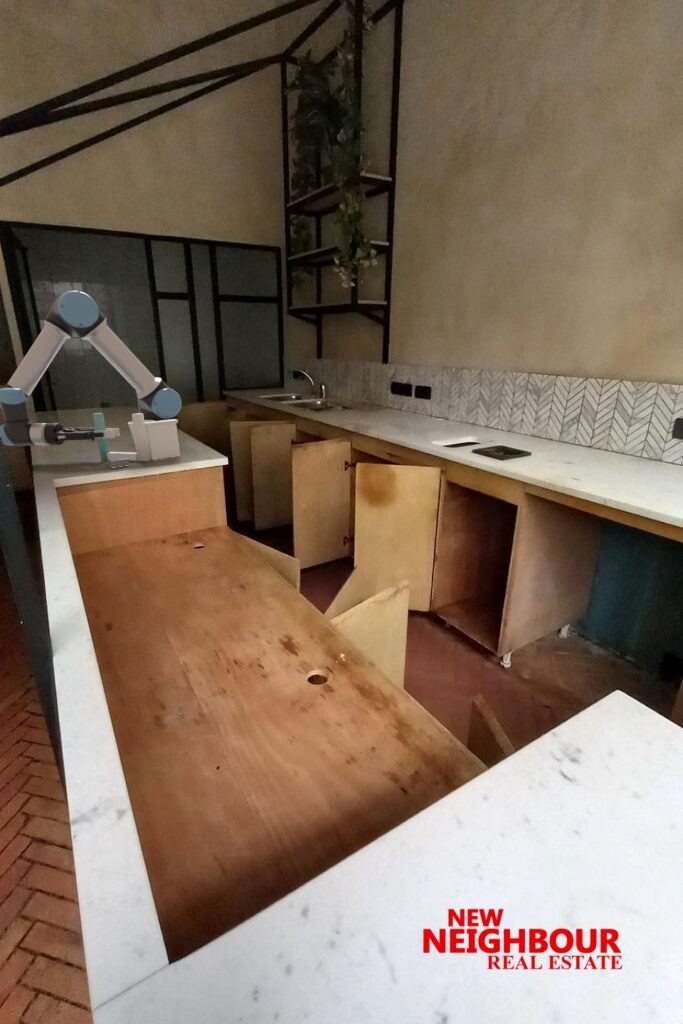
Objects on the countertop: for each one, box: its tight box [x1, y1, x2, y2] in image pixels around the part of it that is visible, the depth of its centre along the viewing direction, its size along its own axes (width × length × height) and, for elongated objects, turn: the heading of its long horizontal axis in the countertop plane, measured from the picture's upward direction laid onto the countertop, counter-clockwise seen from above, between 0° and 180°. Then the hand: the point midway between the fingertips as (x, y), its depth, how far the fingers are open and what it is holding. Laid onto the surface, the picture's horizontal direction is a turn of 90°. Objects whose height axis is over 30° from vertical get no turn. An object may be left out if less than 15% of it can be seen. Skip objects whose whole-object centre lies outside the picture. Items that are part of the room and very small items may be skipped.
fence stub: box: [145, 418, 181, 460], centre depth 175 cm, size 11×3×13 cm, turn 130°
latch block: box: [108, 458, 131, 469], centre depth 165 cm, size 6×2×2 cm, turn 130°
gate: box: [92, 412, 151, 462], centre depth 171 cm, size 18×4×16 cm, turn 79°
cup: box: [127, 420, 154, 450], centre depth 188 cm, size 10×10×11 cm
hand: (116, 433), depth 172 cm, fingers open, 3 cm apart
